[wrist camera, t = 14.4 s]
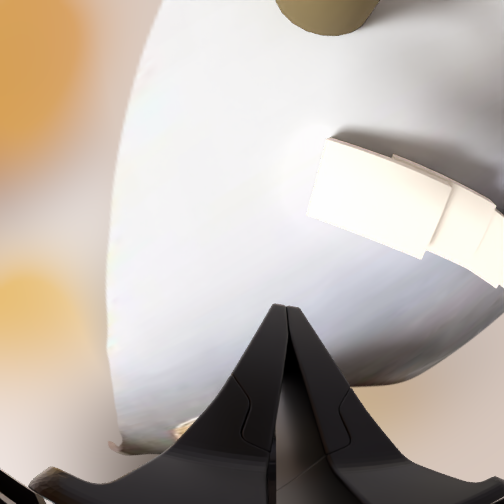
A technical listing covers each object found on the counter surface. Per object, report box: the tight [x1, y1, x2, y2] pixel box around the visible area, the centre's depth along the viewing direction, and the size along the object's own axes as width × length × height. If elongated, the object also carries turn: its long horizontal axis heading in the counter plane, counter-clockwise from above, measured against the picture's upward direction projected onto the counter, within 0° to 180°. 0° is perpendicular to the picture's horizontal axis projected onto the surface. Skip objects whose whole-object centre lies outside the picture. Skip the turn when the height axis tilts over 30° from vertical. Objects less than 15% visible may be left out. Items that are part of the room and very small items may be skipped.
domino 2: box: [392, 154, 496, 268], centre depth 17 cm, size 2×5×8 cm
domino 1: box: [306, 137, 452, 259], centre depth 17 cm, size 2×5×8 cm
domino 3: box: [467, 210, 504, 288], centre depth 17 cm, size 2×5×8 cm
